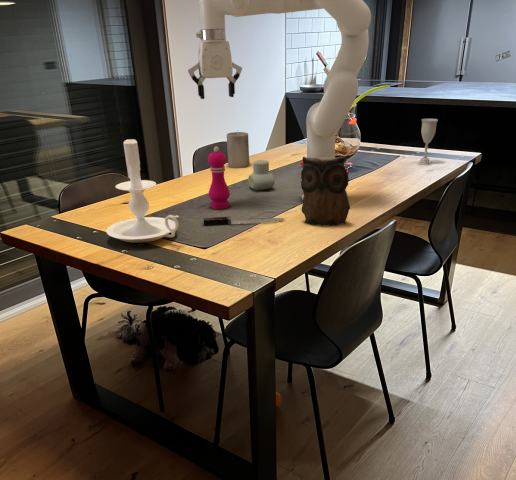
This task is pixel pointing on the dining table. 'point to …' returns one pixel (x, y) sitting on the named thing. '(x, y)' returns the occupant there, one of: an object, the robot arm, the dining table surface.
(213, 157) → the pepper mill
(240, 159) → the pillar candle
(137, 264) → the dining table surface
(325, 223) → the owl
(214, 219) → the knife
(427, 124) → the chalice
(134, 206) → the candlestick
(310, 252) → the dining table surface
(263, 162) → the air freshener
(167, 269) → the dining table surface
